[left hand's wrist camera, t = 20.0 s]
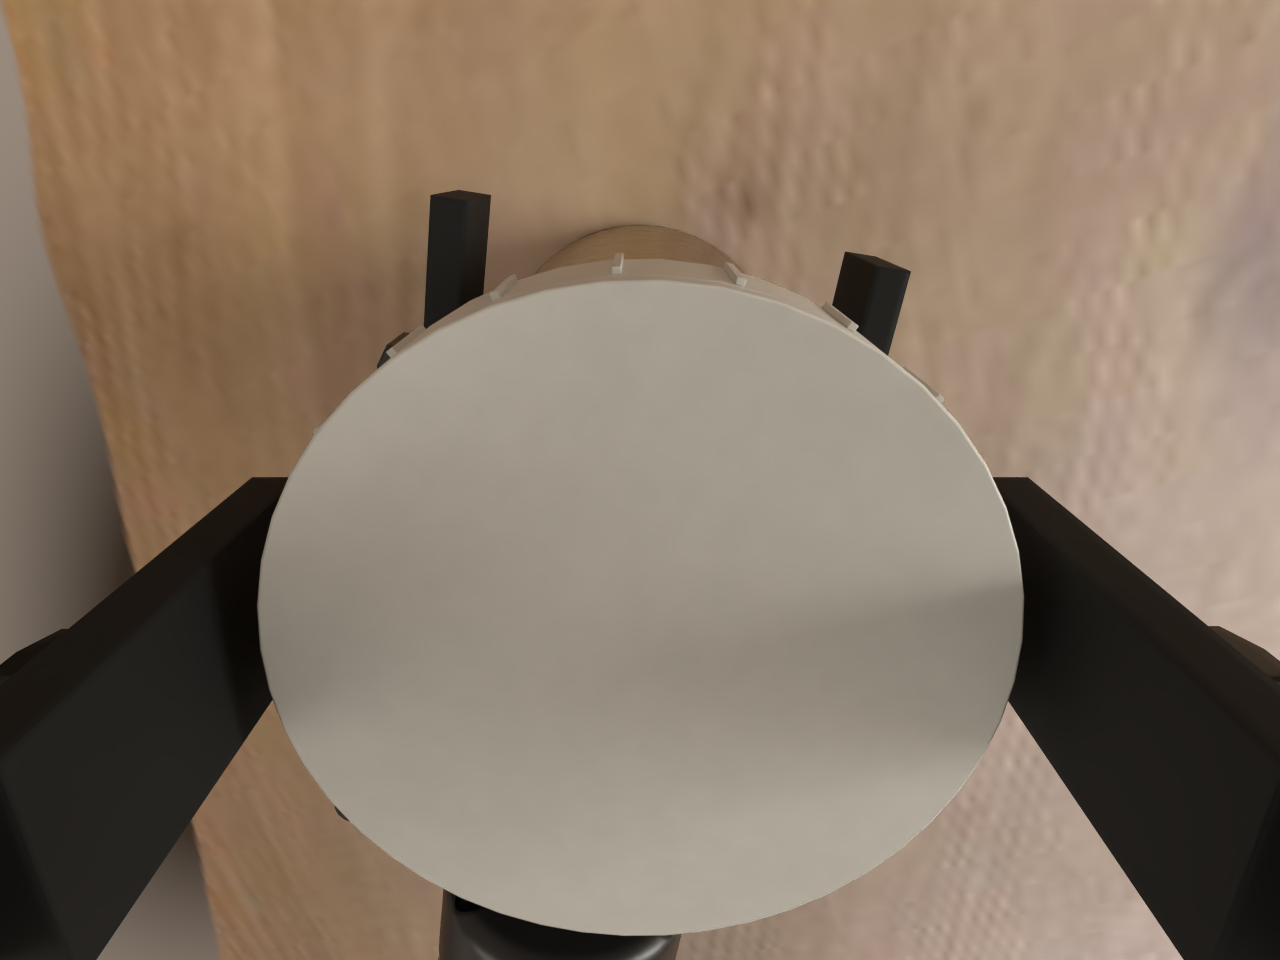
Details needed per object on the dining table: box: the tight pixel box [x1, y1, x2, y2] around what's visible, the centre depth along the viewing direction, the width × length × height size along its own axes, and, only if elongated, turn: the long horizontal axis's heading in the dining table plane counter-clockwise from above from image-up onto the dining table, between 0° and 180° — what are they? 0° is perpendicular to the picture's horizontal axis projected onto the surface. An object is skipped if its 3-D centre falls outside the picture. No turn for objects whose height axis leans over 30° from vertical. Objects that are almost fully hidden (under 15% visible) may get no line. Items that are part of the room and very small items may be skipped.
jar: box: [534, 225, 745, 275], centre depth 18 cm, size 8×8×15 cm
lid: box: [257, 253, 1024, 936], centre depth 11 cm, size 10×10×2 cm
